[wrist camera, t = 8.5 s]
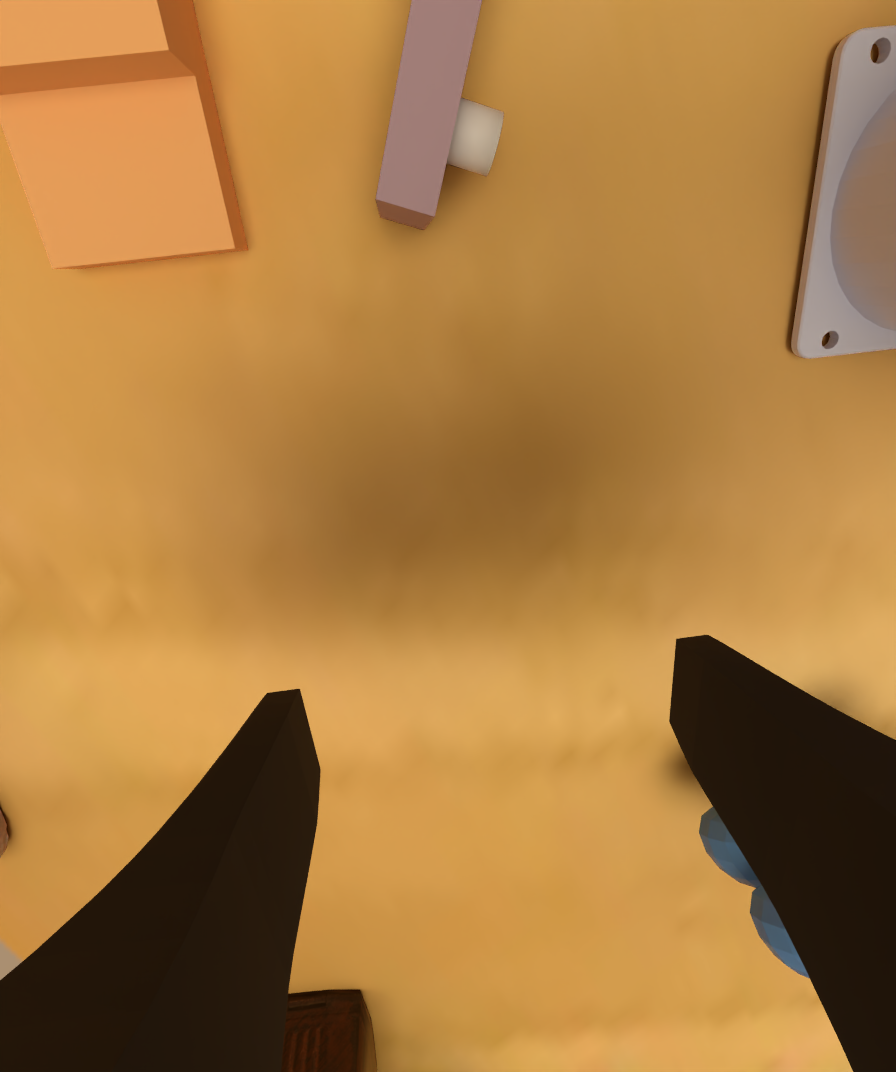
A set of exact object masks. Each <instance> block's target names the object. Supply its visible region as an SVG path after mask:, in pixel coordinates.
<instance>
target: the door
mask: <svg viewBox="0 0 896 1072" xmlns="http://www.w3.org/2000/svg"><path fill="white" fill-rule="evenodd" d="M481 3H482V0H412V2H411V7H410V13H409V18H408V24H407V29H406V35H405V40H404V46H403V51H402V57H401V62H400V68H399V73H398V79H397V84H396V90H395V95H394V101H393V106H392V112H391V117H390V123H389V128H388V134H387V139H386V145H385V150H384V156H383V161H382V167H381V172H380V178H379V183H378V189H377V194H376V203H377V207H378V211H379V215H380V217H381V218H385V219H388V220H391V221H395V222H398V223H401V224H405V225H408V226H412V227H415V228H418V229H422V230H424V229H425V228H426V227H427V226H428V224H429V223H430V222H431V221H432V219H433V218H434V217H435V213H436V208H437V204H438V199H439V195H440V190H441V185H442V181H443V176H444V172H445V167H446V164H449V165H453V166H456V167H459V168H462V169H465V170H468V171H471V172H474V173H478V174H481V175H484V176H487V175H488V173H489V171H490V168H491V166H492V163H493V159H494V156H495V153H496V149H497V145H498V142H499V138H500V133H501V129H502V124H503V117H504V112H502V111H499V110H496V109H493V108H490V107H487V106H485V105H482V104H479V103H476V102H473V101H470V100H467V99H464V98H461V94H462V90H463V85H464V80H465V76H466V71H467V67H468V62H469V58H470V53H471V49H472V44H473V39H474V35H475V30H476V26H477V21H478V17H479V12H480V7H481Z"/></svg>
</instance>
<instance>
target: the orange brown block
mask: <svg viewBox="0 0 896 1072" xmlns="http://www.w3.org/2000/svg"><path fill="white" fill-rule="evenodd" d="M0 124H1V127H2V129H3V132H4V135H5V138H6V141H7V143H8V146H9V149H10V152H11V155H12V158H13V160H14V163H15V166H16V169H17V172H18V174H19V177H20V180H21V183H22V186H23V188H24V191H25V194H26V197H27V200H28V202H29V205H30V208H31V211H32V214H33V216H34V219H35V222H36V225H37V228H38V230H39V233H40V236H41V239H42V242H43V245H44V247H45V250H46V253H47V256H48V259H49V261H50V264H51V267H52V269H82V268H91V267H100V266H109V265H118V264H127V263H136V262H145V261H154V260H163V259H172V258H181V257H190V256H199V255H208V254H217V253H226V252H235V251H244V250H248V247H247V243H246V238H245V234H244V229H243V225H242V220H241V216H240V211H239V207H238V202H237V198H236V193H235V189H234V185H233V180H232V176H231V171H230V167H229V162H228V158H227V153H226V149H225V144H224V140H223V135H222V131H221V126H220V122H219V117H218V113H217V108H216V104H215V99H214V95H213V90H212V86H211V81H210V77H209V72H208V68H207V64H206V59H205V55H204V50H203V46H202V41H201V37H200V32H199V28H198V23H197V19H196V14H195V10H194V5H193V1H192V0H0Z"/></svg>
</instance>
